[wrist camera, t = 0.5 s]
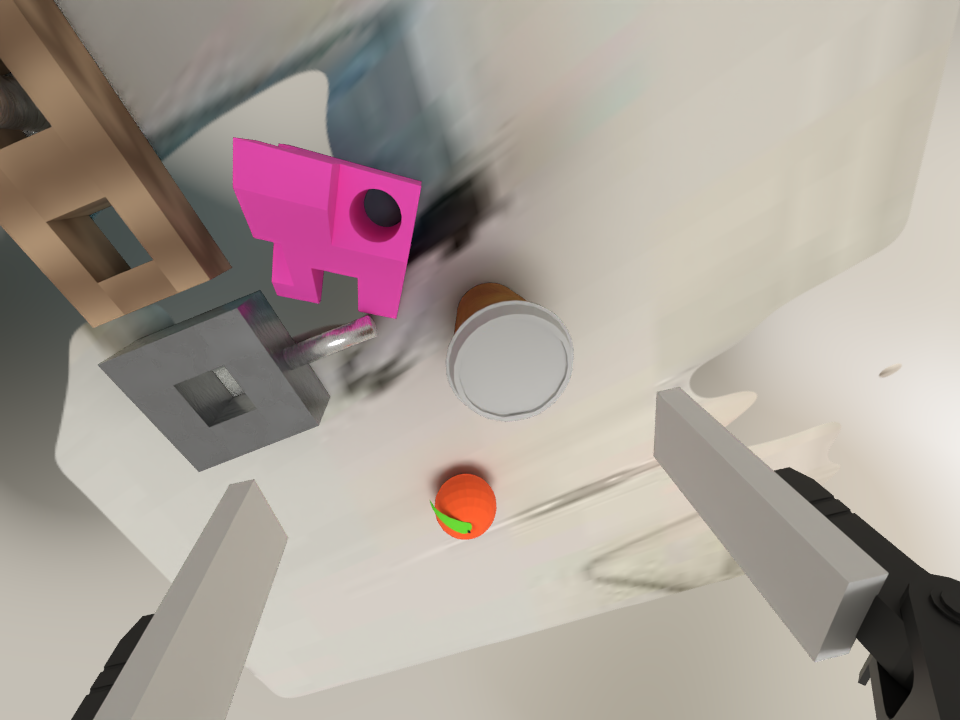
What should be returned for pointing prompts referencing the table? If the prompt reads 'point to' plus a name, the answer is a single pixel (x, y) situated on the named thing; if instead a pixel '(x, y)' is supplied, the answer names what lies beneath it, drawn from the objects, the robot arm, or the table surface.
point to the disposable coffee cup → (507, 354)
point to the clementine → (465, 506)
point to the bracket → (324, 221)
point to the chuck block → (252, 363)
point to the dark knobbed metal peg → (19, 108)
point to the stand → (89, 178)
